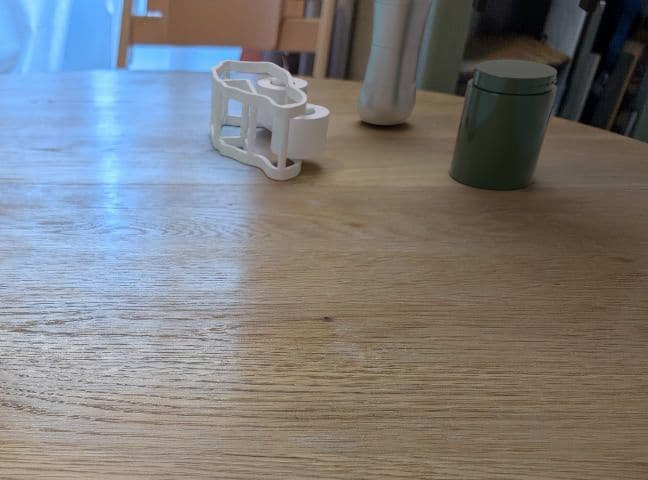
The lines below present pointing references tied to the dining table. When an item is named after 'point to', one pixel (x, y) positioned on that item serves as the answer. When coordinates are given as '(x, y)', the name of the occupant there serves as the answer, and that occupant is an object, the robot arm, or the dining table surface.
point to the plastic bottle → (393, 61)
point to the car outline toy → (267, 117)
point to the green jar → (503, 124)
